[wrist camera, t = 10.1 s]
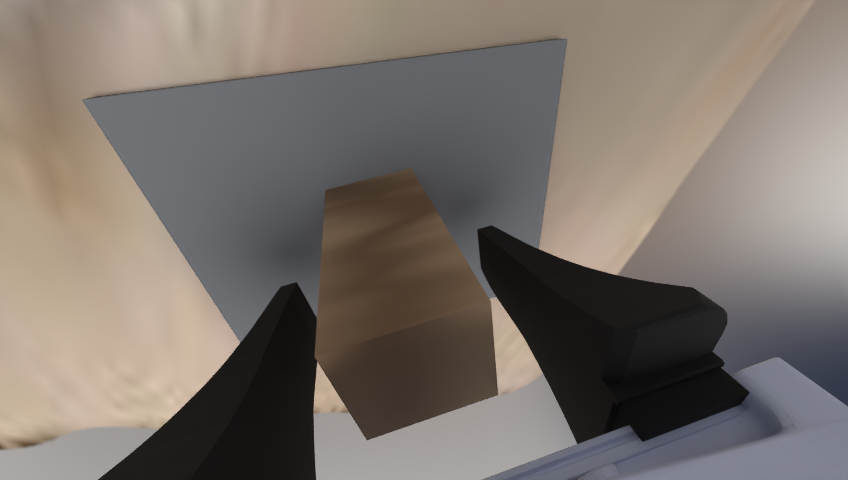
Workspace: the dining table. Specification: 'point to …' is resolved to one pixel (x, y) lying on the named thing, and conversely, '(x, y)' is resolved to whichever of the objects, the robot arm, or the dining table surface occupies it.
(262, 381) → the robot arm
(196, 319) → the dining table surface
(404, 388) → the walnut block
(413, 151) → the rubber mat
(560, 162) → the dining table surface
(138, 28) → the dining table surface
